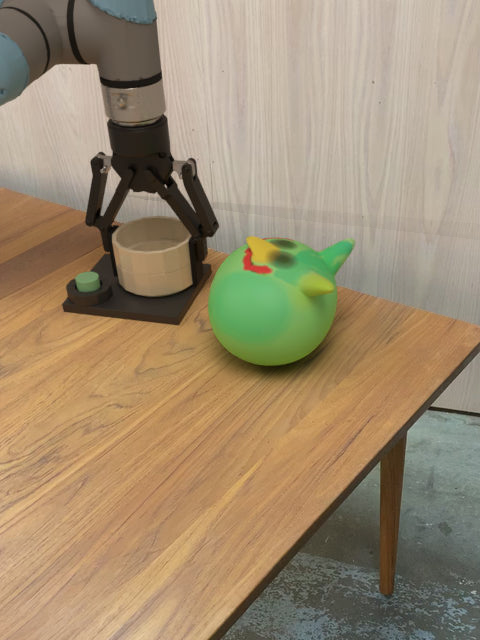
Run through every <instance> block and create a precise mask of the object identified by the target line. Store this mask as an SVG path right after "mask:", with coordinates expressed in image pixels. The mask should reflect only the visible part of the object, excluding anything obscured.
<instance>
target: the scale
mask: <svg viewBox="0 0 480 640" xmlns="http://www.w3.org/2000/svg"><path fill="white" fill-rule="evenodd" d="M89 272H95V273H97V274H98V275H99V280H100V288H99V289H97V290H95V291H90V292H81V291H79V290H78V289H77V285H76V280H75V278H76V277H75V278H72V279H71V280H69V281H68V283H67V284H66V285H65V289H66V293H67V297H66V298H65V300H64V301H63V302H62V304H61V306H62V310H63V312H64V313H70V314H77V315H84V316H85V315H86V316H94V317H104V318H111V319H112V318H113V319H120V320H127V321H128V320H130V321H136V322H145V323H154V324H163V325H170V326H180V325H181V323H182V321H183V320H184V318H185V317H186V315H187V314H188V311H189V310H190V309H191V307H192V306H193V304H194V302H195V300H196V299H197V297H198V296H199V294H200V293H201V291H202V290H203V288H204V286H205V284H206V283H207V281H208V279H209V278H210V276H211V275H212V273H213V270H212V264H211V263H204V262H203V272H204V276H203V278H202V279H201V281H200V282H199V284H198V285H193V284H192V285H190V286H189V287H187V288H186V289H184V290H182V291H180V292H178V293H175V294H172V295H168V296H162V297H146V296H141V295H137V294H134V293H132V292H129V291H127V290H125V289H124V288H123V287H122V285H121V284H120V283H119V278H118V277H116V276H114V274H113V268H112V263H111V257H110V253H103V255H102V256H101V258H99V260H97V262H96V263H95V264H94V266H92V268H91V269H90V271H89Z"/></svg>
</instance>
